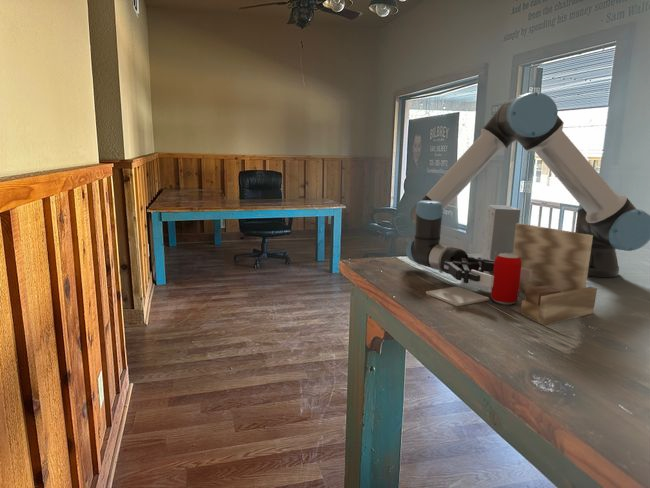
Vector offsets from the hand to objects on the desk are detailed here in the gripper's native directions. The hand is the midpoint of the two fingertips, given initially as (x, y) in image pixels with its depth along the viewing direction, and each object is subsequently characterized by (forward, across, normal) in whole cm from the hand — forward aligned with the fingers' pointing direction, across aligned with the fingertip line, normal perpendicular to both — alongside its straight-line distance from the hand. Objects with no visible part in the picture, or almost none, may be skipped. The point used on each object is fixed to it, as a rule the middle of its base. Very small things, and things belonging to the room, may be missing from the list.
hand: (512, 278), depth 109 cm
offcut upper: (+8, 0, -3) cm, 9 cm away
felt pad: (-10, +8, -6) cm, 14 cm away
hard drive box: (-29, -29, -7) cm, 41 cm away
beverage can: (-2, 0, -7) cm, 7 cm away
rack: (+1, -4, -7) cm, 8 cm away
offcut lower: (+8, 0, -7) cm, 11 cm away
